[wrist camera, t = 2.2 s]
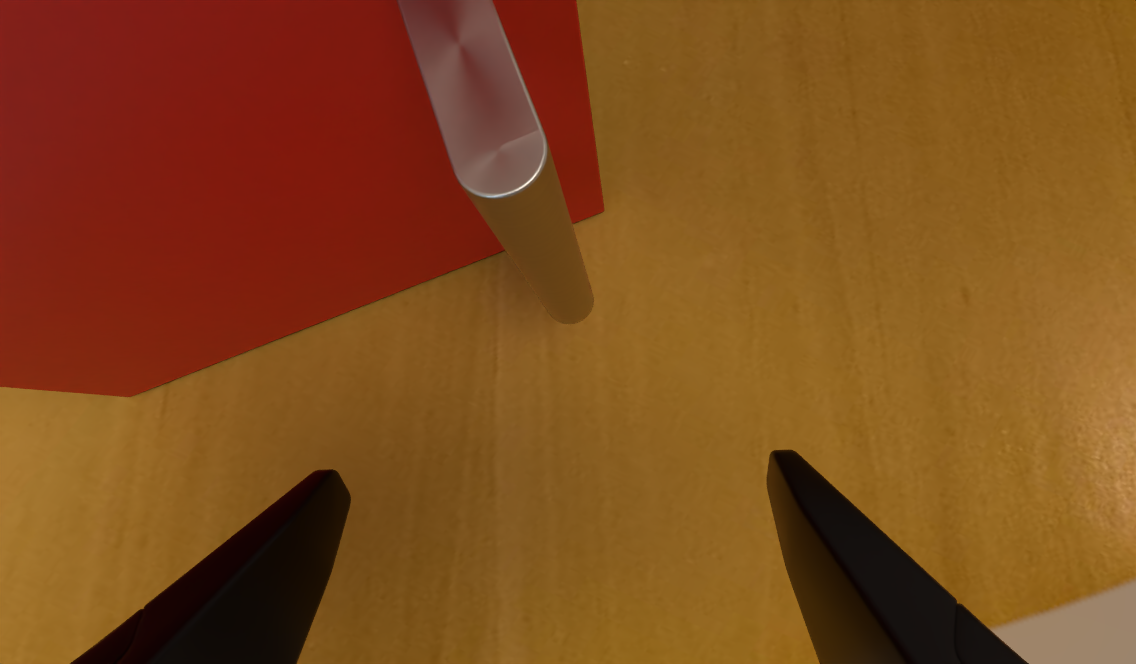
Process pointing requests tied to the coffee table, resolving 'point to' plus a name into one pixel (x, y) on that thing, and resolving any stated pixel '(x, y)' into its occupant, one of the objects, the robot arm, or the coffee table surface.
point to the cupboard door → (273, 171)
